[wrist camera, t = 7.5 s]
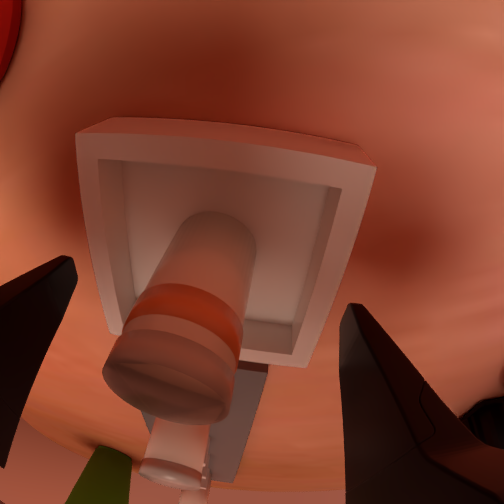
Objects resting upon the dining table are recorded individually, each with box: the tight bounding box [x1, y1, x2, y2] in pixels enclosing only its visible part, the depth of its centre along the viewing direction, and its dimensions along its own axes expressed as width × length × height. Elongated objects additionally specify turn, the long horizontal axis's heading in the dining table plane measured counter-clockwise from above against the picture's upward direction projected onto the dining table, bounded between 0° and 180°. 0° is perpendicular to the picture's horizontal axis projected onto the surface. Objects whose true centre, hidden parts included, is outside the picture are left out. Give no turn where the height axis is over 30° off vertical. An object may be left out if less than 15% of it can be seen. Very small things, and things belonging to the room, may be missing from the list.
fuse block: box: [141, 360, 268, 489], centre depth 22 cm, size 8×26×3 cm, turn 173°
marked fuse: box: [102, 212, 257, 425], centre depth 9 cm, size 3×3×6 cm
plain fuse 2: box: [179, 472, 212, 504], centre depth 25 cm, size 3×3×6 cm
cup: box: [65, 446, 132, 504], centre depth 28 cm, size 9×9×11 cm
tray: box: [75, 117, 377, 368], centre depth 11 cm, size 9×9×2 cm
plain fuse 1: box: [139, 417, 211, 491], centre depth 14 cm, size 3×3×6 cm
